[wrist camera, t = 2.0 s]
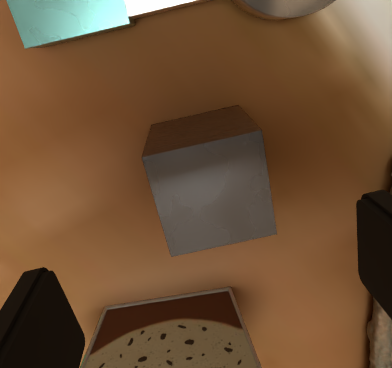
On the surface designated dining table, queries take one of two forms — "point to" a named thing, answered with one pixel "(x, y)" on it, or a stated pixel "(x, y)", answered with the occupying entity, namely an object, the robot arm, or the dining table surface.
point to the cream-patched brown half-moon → (173, 334)
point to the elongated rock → (380, 336)
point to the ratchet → (123, 15)
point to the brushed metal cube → (209, 180)
